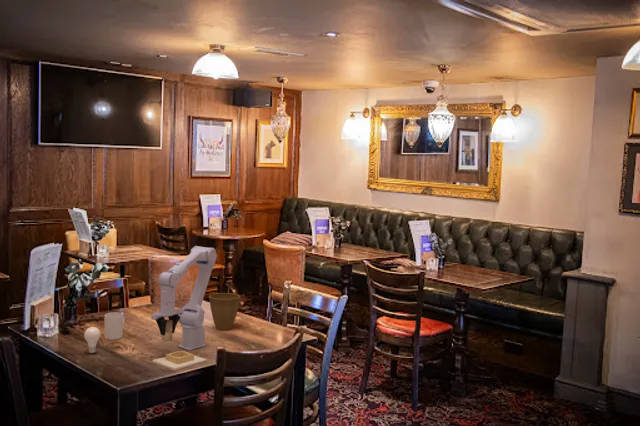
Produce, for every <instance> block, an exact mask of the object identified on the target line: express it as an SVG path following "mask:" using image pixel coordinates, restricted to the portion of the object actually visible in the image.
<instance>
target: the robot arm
mask: <svg viewBox="0 0 640 426" xmlns="http://www.w3.org/2000/svg"><path fill="white" fill-rule="evenodd" d="M217 257H218V255H217V251H216V249H215V248H214V247H206V246H205V247H204V246H198V245H195V246H193V247H192V248H191V249H190V253H189V254H188V256H186V257H185V258H184V259H183V260H182V261H181V262H180V261H179V262H178V261H177V262H175V264H174V265H173V266H172V267H171V268H170V269H168V270H166V271H163V272H162V273H160V274H159V275H158V276H159V277H158V279H157V283H158V285H159V290H160V311H157V312H155V313H152V314H151V317H150V318H151V320H154V321H155V322H156V324H157V326H158V330H159V333H160V335H161V336H162V335H163V336H164V335H165V328H166V323H167V319H166V318H167V317H168V319H169V320H173V323H172V334H175V331H176V327H177V325H178V323H179V325H180V327H182V333H181V334H182V335H181V336H182V340H181V343H180V344H177V347H178V348H181V349H185V350H187V351H191V350H195V349H199V348H203V347H206V346H207V345H206V343H205V341H206V330H205V327H204V326H203V323H204V321H205V314H206V311H205V310H204V309H203V307H202V304H203V300H204V297H205V294H206V292H207V287H208V284H209V281H210V277H211V275H212V271H213V268H214V267H215V263H216V260H217ZM194 264H195V265H196V266H197V267H198V273H197V276H196V280H195V283H194V287H193V288H192V292H191V296H190V299H189V301H188V303H187V304H185V305H184V306H182V308H179V309H176V287H177V286H178V285H179V281H180V280H181V278H183V277H184V276H185V275H186V274H187V273H188V269H189V268H191V266H193V265H194Z"/></svg>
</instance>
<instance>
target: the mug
mask: <svg viewBox="0 0 640 426" xmlns="http://www.w3.org/2000/svg"><path fill="white" fill-rule="evenodd" d="M125 320H126V314H125V313H124V312H116V311H115V312H108V313H105V314H104V327H103V328H104V332H103V334H104V339H105V340H111V341H112V340H114V341H115V340H120V339H123V337H124V323H125Z"/></svg>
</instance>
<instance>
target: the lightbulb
mask: <svg viewBox="0 0 640 426" xmlns="http://www.w3.org/2000/svg"><path fill="white" fill-rule="evenodd" d="M101 335H102V333H101V330H100V329H99V328H98V327H96V326H90V327H88V328H87V329H86V330H85V331H84V333H83V337H84V340H85V341H86V342H87V346H88V352H89V353H90V354H95V353H96V351H97V350H96V348H97V347H96V346H97V344H98V341H99V339H100V338H101Z"/></svg>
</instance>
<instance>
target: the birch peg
mask: <svg viewBox="0 0 640 426" xmlns="http://www.w3.org/2000/svg"><path fill="white" fill-rule="evenodd" d="M166 320H167V323H166V328H165V335H164V336H163V335H161V336H162V337H161V338H162V339H161V341H163V342H171V341H173V333H172V323H173V320H169V318H168V319H166Z"/></svg>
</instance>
